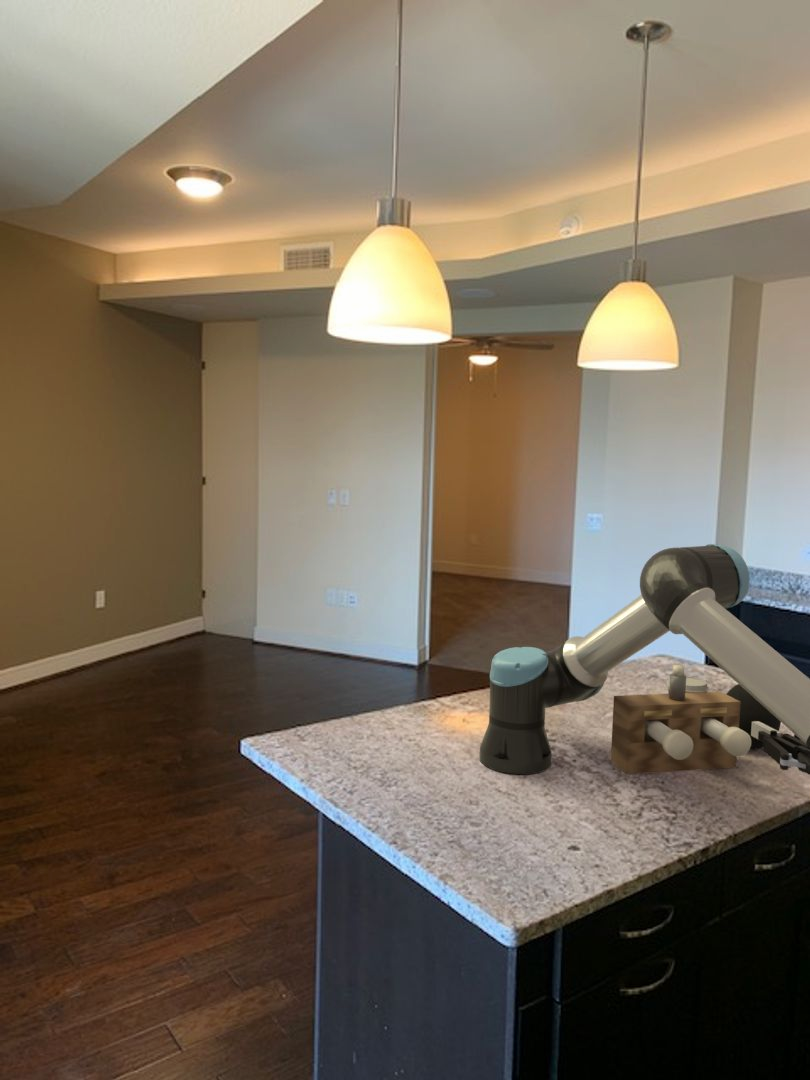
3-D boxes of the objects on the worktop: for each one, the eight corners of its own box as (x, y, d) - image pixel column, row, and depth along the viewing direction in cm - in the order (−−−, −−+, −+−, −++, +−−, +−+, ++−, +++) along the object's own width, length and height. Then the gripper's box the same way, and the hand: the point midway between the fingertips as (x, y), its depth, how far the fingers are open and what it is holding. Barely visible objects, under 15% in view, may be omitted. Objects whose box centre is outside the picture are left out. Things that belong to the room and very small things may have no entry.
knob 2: (726, 757, 152) (728, 731, 152) (684, 730, 167) (685, 706, 167) (750, 755, 153) (752, 730, 153) (706, 728, 168) (707, 705, 168)
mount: (626, 774, 159) (630, 706, 157) (610, 760, 166) (613, 695, 164) (736, 768, 163) (741, 702, 162) (716, 754, 171) (720, 691, 169)
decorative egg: (766, 762, 167) (771, 694, 165) (709, 747, 175) (714, 682, 174) (786, 748, 176) (791, 683, 174) (731, 734, 184) (735, 672, 182)
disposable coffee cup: (698, 739, 180) (702, 689, 179) (658, 730, 186) (660, 681, 184) (710, 728, 187) (714, 680, 186) (671, 720, 193) (674, 672, 192)
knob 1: (667, 760, 150) (669, 734, 149) (630, 732, 165) (631, 708, 164) (692, 759, 151) (694, 733, 150) (652, 731, 166) (654, 707, 165)
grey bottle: (673, 701, 161) (675, 668, 161) (665, 696, 164) (667, 664, 164) (687, 700, 162) (690, 667, 161) (679, 696, 165) (681, 663, 164)
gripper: (809, 802, 124) (722, 749, 147) (880, 797, 126) (784, 745, 149) (813, 756, 123) (724, 710, 146) (884, 752, 126) (786, 707, 149)
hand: (754, 728), depth 148 cm, fingers closed
